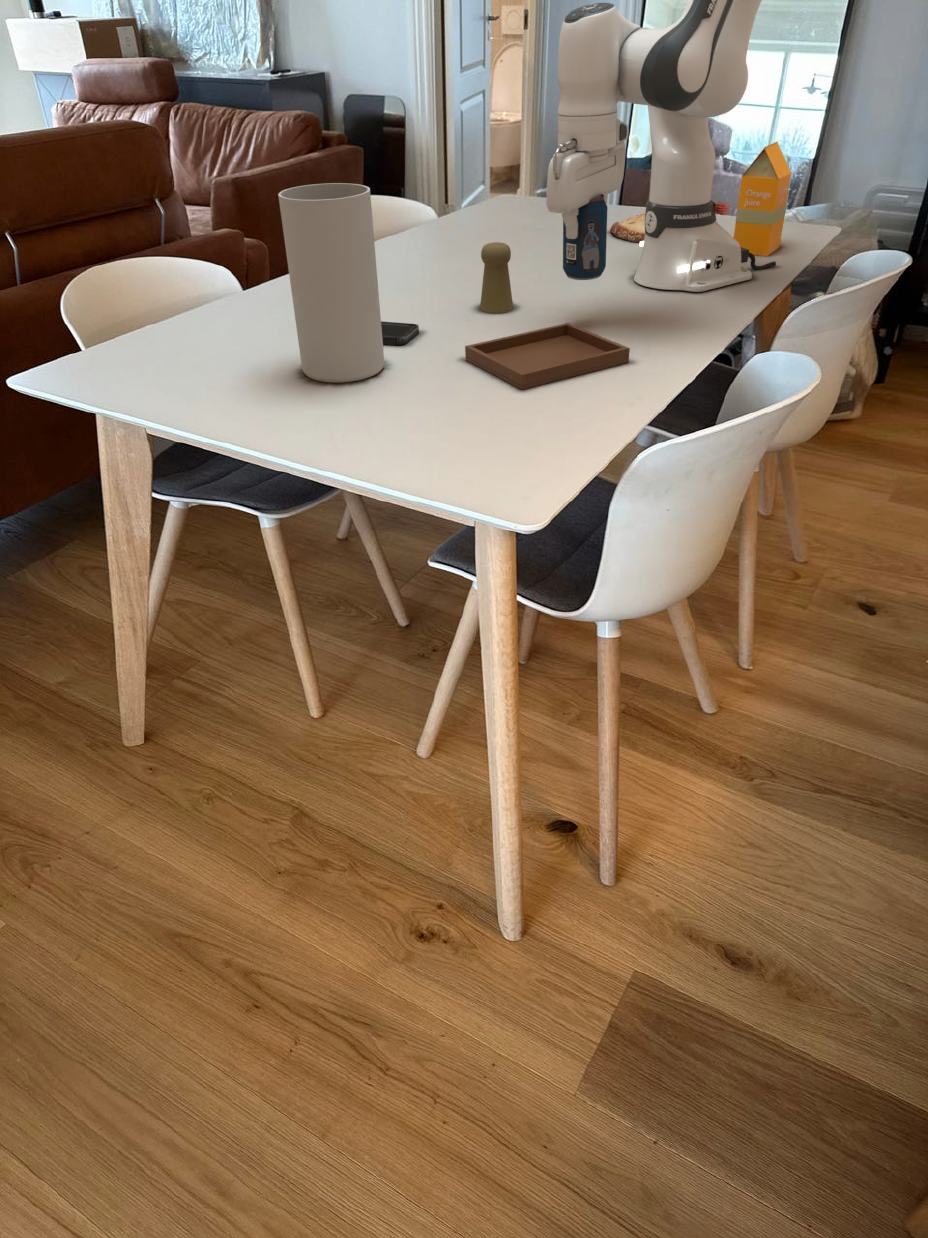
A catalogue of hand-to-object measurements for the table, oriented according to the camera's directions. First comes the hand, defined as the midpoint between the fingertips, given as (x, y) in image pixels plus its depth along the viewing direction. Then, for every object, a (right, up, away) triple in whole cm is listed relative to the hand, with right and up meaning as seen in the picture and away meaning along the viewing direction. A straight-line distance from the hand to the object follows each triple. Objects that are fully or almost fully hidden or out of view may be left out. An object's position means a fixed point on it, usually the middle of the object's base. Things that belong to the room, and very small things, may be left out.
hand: (584, 231), depth 144 cm
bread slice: (+23, +24, +60) cm, 68 cm away
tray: (-7, -22, -6) cm, 24 cm away
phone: (-35, -14, +7) cm, 38 cm away
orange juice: (+43, +16, +47) cm, 66 cm away
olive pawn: (-13, -6, +18) cm, 23 cm away
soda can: (0, -6, +4) cm, 7 cm away
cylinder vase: (-38, -24, -6) cm, 45 cm away
